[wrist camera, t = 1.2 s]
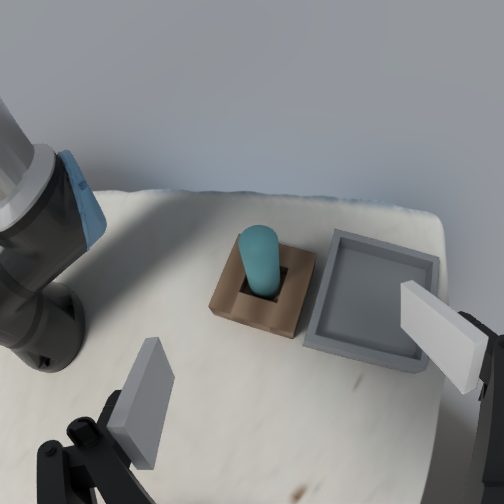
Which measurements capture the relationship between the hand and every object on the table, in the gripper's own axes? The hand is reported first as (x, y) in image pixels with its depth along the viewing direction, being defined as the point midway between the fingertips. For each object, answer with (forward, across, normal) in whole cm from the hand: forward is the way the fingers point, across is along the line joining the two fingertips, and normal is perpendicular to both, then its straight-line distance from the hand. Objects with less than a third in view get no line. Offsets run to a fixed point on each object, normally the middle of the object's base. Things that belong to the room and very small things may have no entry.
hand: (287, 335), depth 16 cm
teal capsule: (+25, 0, -8) cm, 26 cm away
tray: (+22, +14, -12) cm, 29 cm away
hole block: (+26, 0, -8) cm, 27 cm away
